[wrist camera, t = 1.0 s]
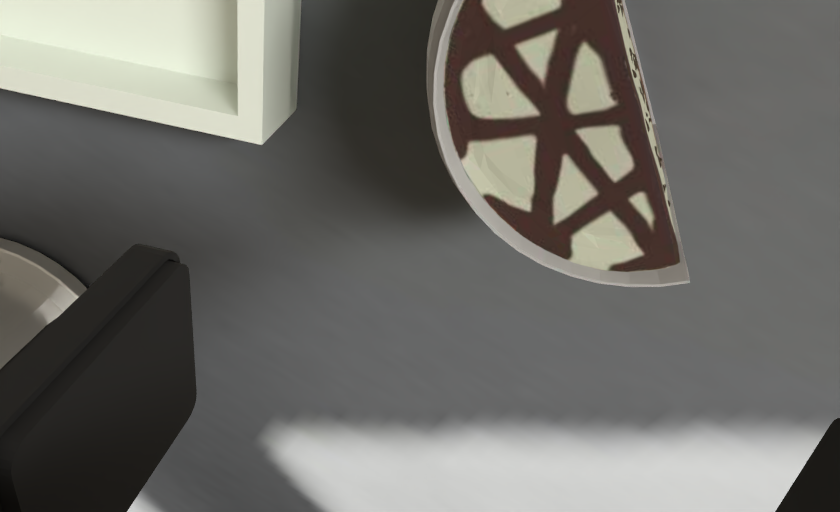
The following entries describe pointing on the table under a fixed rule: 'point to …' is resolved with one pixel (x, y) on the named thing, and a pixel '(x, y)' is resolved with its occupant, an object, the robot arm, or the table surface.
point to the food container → (555, 135)
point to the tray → (159, 59)
